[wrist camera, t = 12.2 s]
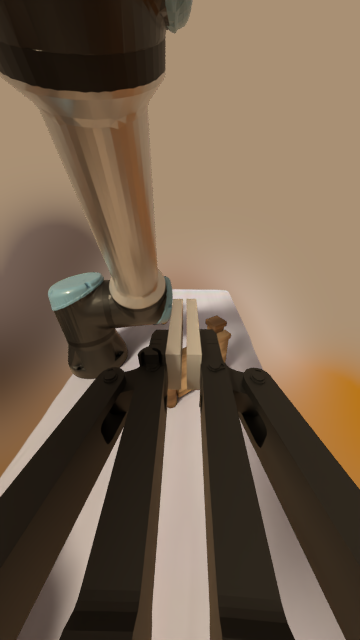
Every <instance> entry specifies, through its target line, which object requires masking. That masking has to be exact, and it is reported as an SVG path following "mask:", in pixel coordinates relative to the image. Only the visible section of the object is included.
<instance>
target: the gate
mask: <svg viewBox="0 0 360 640" xmlns="http://www.w3.org/2000/svg"><path fill="white" fill-rule="evenodd" d="M217 337H218V342H219V346H220V350H221V354H222V358H223V361H224V362H225V359H226V353H227V346H228V339H230V338H231V333H229V332H228V331H226V330H224V331H221V332H219V333H217ZM190 391H191V390H187V347H185V348H183V349H182V378H181V390H176V394H177V396H178V397H181V396H183V395H184V394H186V393H188V392H190Z"/></svg>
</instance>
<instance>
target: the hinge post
mask: <svg viewBox="0 0 360 640" xmlns="http://www.w3.org/2000/svg"><path fill="white" fill-rule="evenodd" d="M167 394H168V402H167V407H168V408H173V407H175V406H176V404H177V397H176V390H173V389H168V391H167Z"/></svg>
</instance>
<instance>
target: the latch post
mask: <svg viewBox="0 0 360 640" xmlns="http://www.w3.org/2000/svg"><path fill="white" fill-rule="evenodd" d="M206 324H207V325H208V326H207V329H213V330H214V332H215V333H216V334H217V333H219V332H221V331H223V329H224V326H226V324H227V322H226V321H225V320H223V319H222V318H220V317H218V316H214V317H211V318H209V319H206Z"/></svg>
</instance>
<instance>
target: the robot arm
mask: <svg viewBox="0 0 360 640" xmlns="http://www.w3.org/2000/svg"><path fill="white" fill-rule="evenodd" d="M191 5H192V0H0V76H1V77H2V78H3V79H4V80H5V81H7V82H8V83H9V84H10V85H12V86H13V87H14V88H16V89H17V90H18V91H19V92H21V93H22V94H23V95H24V96H26V97H27V98H28V99H30V100H31V101H32V102H33V103H34V104H35V105H36V106H37V107H38V109H39V110H40V112H41V114H42V117H43V119H44V121H45V123H46V126H47V128H48V131H49V133H50V135H51V137H52V140H53V142H54V144H55V147H56V149H57V151H58V154H59V156H60V158H61V161H62V163H63V165H64V167H65V169H66V172H67V174H68V177H69V179H70V181H71V184H72V186H73V188H74V191H75V193H76V195H77V198H78V200H79V202H80V204H81V207H82V209H83V211H84V214H85V216H86V218H87V221H88V223H89V225H90V227H91V230H92V232H93V234H94V237H95V239H96V241H97V244H98V246H99V248H100V251H101V253H102V255H103V257H104V260H105V262H106V264H107V267H108V269H109V271H110V274H111V276H112V277H111V279H110V280H104V277H103V276H102V275H101V274H100V273H95V272H91V273H84V274H79V275H76V276H72V277H69V278H66V279H64V280H62V281H59V282H57V283H56V284H54V285H53V286H52V287H51V288H50V289H49V291H48V296H49V300H50V303H51V306H52V310H53V311H54V313H55V315H56V317H57V320H58V322H59V324H60V326H61V328H62V331H63V333H64V335H65V337H66V340H67V342H68V364H69V367H70V369H71V371H72V373H73V374H74V375H75V376H77V377H80V378H84V379H93V378H96V379H95V380H94V382H93V383H92V384H91V385H90V387H89V388H88V389H87V390H86V392H85V393H84V394H83V395H82V397H81V398H80V399H79V400H78V402H77V403H76V404H75V405H74V406H73V408H72V409H71V410H70V411H69V413H68V414H67V415H66V416H65V418H64V419H63V420H62V421H61V423H60V424H59V425H58V426H57V428H56V429H55V430H54V431H53V432H52V434H51V435H50V436H49V437H48V439H47V440H46V441H45V442H44V444H43V445H42V446H41V447H40V449H39V450H38V451H37V452H36V454H35V455H34V456H33V457H32V459H31V460H30V461H29V462H28V463H27V465H26V466H25V467H24V468H23V470H22V471H21V472H20V473H19V475H18V476H17V477H16V478H15V480H14V481H13V482H12V483H11V485H10V486H9V487H8V488H7V489H6V491H5V492H4V493H3V494H2V496H1V497H0V640H16V639H17V637H18V635H19V633H20V631H21V629H22V627H23V625H24V623H25V621H26V619H27V617H28V615H29V613H30V611H31V609H32V607H33V605H34V603H35V601H36V599H37V597H38V595H39V593H40V591H41V589H42V587H43V585H44V583H45V581H46V579H47V577H48V575H49V573H50V571H51V569H52V567H53V566H54V564H55V562H56V560H57V558H58V556H59V554H60V552H61V550H62V548H63V546H64V544H65V542H66V540H67V538H68V536H69V534H70V532H71V530H72V528H73V526H74V524H75V522H76V520H77V518H78V516H79V514H80V512H81V510H82V508H83V506H84V504H85V502H86V500H87V498H88V496H89V494H90V492H91V490H92V488H93V486H94V484H95V482H96V480H97V478H98V476H99V474H100V473H101V471H102V469H103V467H104V465H105V463H106V461H107V459H108V457H109V455H110V453H111V451H112V449H113V447H114V445H115V443H116V441H117V439H118V437H119V435H120V433H121V431H122V429H123V427H124V429H123V432H122V436H121V440H120V444H119V447H118V451H117V455H116V459H115V462H114V466H113V470H112V474H111V477H110V481H109V485H108V489H107V492H106V496H105V500H104V504H103V507H102V511H101V515H100V519H99V523H98V526H97V530H96V534H95V538H94V541H93V545H92V549H91V553H90V556H89V560H88V564H87V568H86V571H85V575H84V579H83V583H82V586H81V590H80V593H79V597H78V600H77V603H76V605H75V608H74V611H73V612H72V614H71V616H70V618H69V620H68V622H67V624H66V626H65V628H64V629H63V632H62V634H61V637H60V639H59V640H151V637H152V601H153V587H154V574H155V561H156V548H157V534H158V521H159V508H160V495H161V482H162V468H163V455H164V442H165V429H166V416H167V402H168V394H167V391H168V389H173V390H181V378H182V344H183V299H172V286H171V282H170V280H169V278H168V277H166V276H163V274H162V273H161V271H160V270H159V269H158V268H157V253H156V237H155V222H154V205H153V188H152V174H151V173H152V172H151V157H150V140H149V123H148V104H149V101H150V99H151V98H152V96H153V95H154V93H155V92H156V90H157V89H158V87H159V86H160V84H161V83H162V81H163V80H164V77H165V34H166V30H168V29H169V30H170V31H171V32H173V33H176V31H177V30H178V29H180V28H182V27H184V26H185V24H186V23H187V21H188V18H189V15H190V11H191ZM172 300H173V305H172ZM170 317H171V319H170ZM169 319H170V326H169V330H156V331H155V332H154V333H153V334H152V337H151V340H150V345H149V347H146V348H143V349H142V350H141V351H140V352H139V353H138V359H139V364H140V367H139V368H137V369H134V370H131V371H127V372H124V371H123V370H122V369H120V368H119V367H120V366H121V365H122V364H123V363H124V362H125V360H126V358H127V354H128V352H127V347H126V344H125V342H124V341H123V339H122V338H121V336H120V335H119V334H118V332H117V331H116V329H115V328H121V327H131V326H142V325H152V324H153V325H157V324H160V323H165V322H167V321H168V320H169ZM187 390H200V404H199V407H200V412H201V433H202V454H203V476H204V497H205V518H206V539H207V561H208V582H209V603H210V640H295V639H294V637H293V634H292V632H291V630H290V628H289V625H288V623H287V620H286V617H285V614H284V610H283V607H282V603H281V599H280V594H279V590H278V586H277V581H276V577H275V573H274V568H273V564H272V559H271V555H270V551H269V546H268V542H267V538H266V533H265V529H264V524H263V520H262V516H261V511H260V507H259V503H258V498H257V494H256V490H255V485H254V481H253V476H252V472H251V468H250V463H249V459H248V455H247V450H246V446H245V442H244V437H243V433H242V428H241V424H240V420H241V422H242V424H243V426H244V428H245V430H246V433H247V435H248V437H249V439H250V441H251V443H252V445H253V447H254V449H255V451H256V453H257V455H258V458H259V460H260V462H261V464H262V466H263V468H264V470H265V472H266V474H267V476H268V478H269V480H270V483H271V485H272V487H273V489H274V491H275V493H276V495H277V497H278V499H279V501H280V503H281V505H282V508H283V510H284V512H285V514H286V516H287V518H288V520H289V522H290V524H291V526H292V528H293V530H294V533H295V535H296V537H297V539H298V541H299V543H300V545H301V547H302V549H303V551H304V553H305V555H306V558H307V560H308V562H309V564H310V566H311V568H312V570H313V572H314V574H315V576H316V578H317V580H318V583H319V585H320V587H321V589H322V591H323V593H324V595H325V597H326V599H327V601H328V603H329V605H330V608H331V610H332V612H333V614H334V616H335V618H336V620H337V622H338V624H339V626H340V628H341V630H342V633H343V635H344V637H345V639H346V640H360V489H359V488H358V487H357V486H356V484H355V483H354V482H353V481H352V479H351V478H350V477H349V476H348V474H347V473H346V472H345V470H344V469H343V468H342V467H341V465H340V464H339V463H338V461H337V460H336V459H335V458H334V456H333V455H332V454H331V453H330V451H329V450H328V449H327V448H326V446H325V445H324V444H323V442H322V441H321V440H320V439H319V437H318V436H317V435H316V434H315V432H314V431H313V430H312V428H311V427H310V426H309V424H308V423H307V422H306V421H305V420H304V418H303V417H302V416H301V414H300V413H299V412H298V410H297V409H296V408H295V407H294V405H293V404H292V403H291V402H290V400H289V399H288V398H287V397H286V395H285V394H284V393H283V391H282V390H281V389H280V388H279V386H278V385H277V384H276V382H275V381H274V380H273V379H272V378H271V376H270V375H269V374H268V373H267V372H265V371H263V370H262V369H258V368H249V369H247V370H246V371H245V372H244V373H243V372H240V371H236V370H233V369H231V368H229V367H228V366H227V365H226V363H225V362H224V361H223V358H222V354H221V350H220V346H219V342H218V337H217V334H216V333H215V332H214V330H213V329H199V323H198V313H197V303H196V299H187ZM239 418H240V420H239Z"/></svg>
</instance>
